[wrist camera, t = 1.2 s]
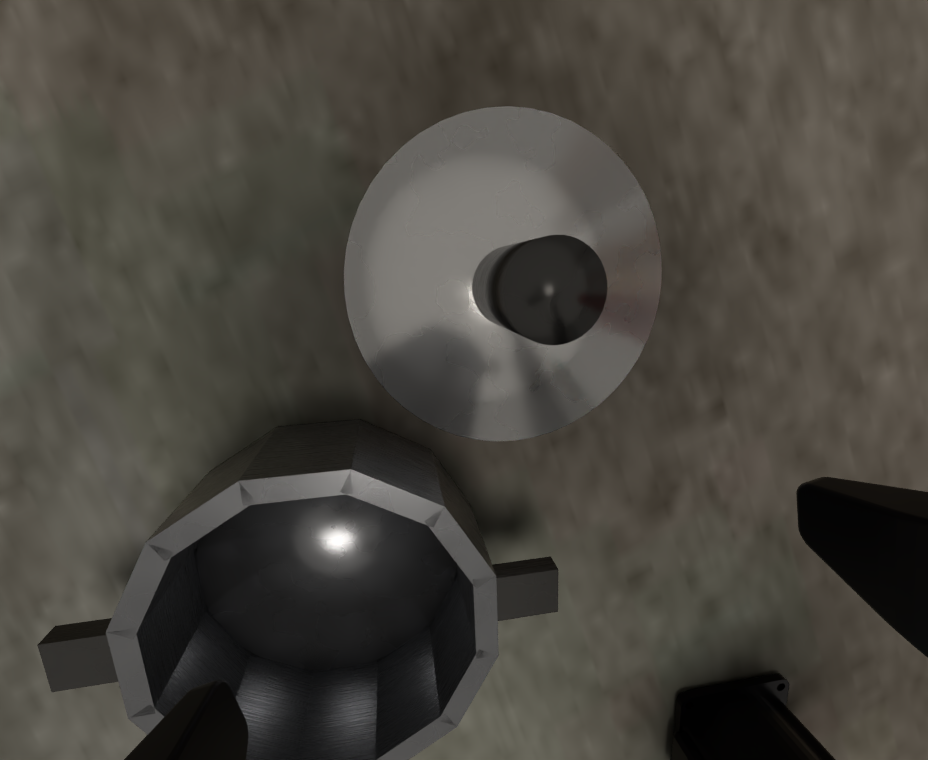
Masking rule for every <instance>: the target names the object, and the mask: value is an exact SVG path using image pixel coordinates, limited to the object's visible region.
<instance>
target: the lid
mask: <svg viewBox="0 0 928 760" xmlns="http://www.w3.org/2000/svg"><path fill="white" fill-rule="evenodd" d="M661 281H662V258H661V250H660V242H659V236H658V232H657V228H656V224H655V220H654V216H653V214H652V211H651V209H650V206H649V203H648V201H647V198H646V196H645V194H644V193H643V191H642V189H641V187H640V185H639V183H638V182H637V180H636V178H635V177H634V175H633V174H632V173H631V171H630V170H629V168H628V167H627V166H626V164H625V163H624V162H623V161H622V159H621V158H620V157H619V156H618V155H617V154H616V153H615V152H614V151H613V150H612V149H611V148H610V147H609V146H608V145H607V144H605V143H604V142H603V141H602V140H600V139H599V138H598V137H597V136H595V135H594V134H593V133H592V132H590V131H588V130H586V129H585V128H583V127H581V126H580V125H578V124H576V123H574V122H573V121H570V120H568V119H565V118H563V117H560V116H558V115H555V114H553V113H549V112H545V111H541V110H536V109H532V108H524V107H512V106H503V107H488V108H482V109H477V110H472V111H468V112H463V113H461V114H458V115H455V116H453V117H450V118H447V119H445V120H442V121H440V122H438V123H436V124H435V125H433V126H431V127H429V128H427V129H426V130H424V131H422V132H420V133H419V134H418V135H417V136H415V137H414V138H413V139H411V140H410V141H409V142H407V143H406V144H405V145H403V146H402V147H401V148H400V149H399V150H398V151H397V152H396V153H395V154H394V155H393V156H392V157H391V158H390V159H389V160H388V161H387V162H386V163H385V165H384V166H383V168H382V169H381V170H380V172H379V173H378V174H377V176H376V177H375V178H374V180H373V181H372V182H371V184H370V186H369V188H368V190H367V192H366V193H365V195H364V197H363V199H362V201H361V202H360V205H359V207H358V210H357V213H356V215H355V218H354V220H353V223H352V226H351V230H350V234H349V238H348V243H347V247H346V254H345V265H344V294H345V301H346V307H347V313H348V318H349V322H350V325H351V328H352V331H353V335H354V338H355V341H356V343H357V345H358V347H359V349H360V351H361V354H362V356H363V358H364V360H365V362H366V363H367V365H368V366H369V368H370V369H371V371H372V373H373V374H374V376H375V377H376V379H377V380H378V381H379V382H380V383H381V385H382V386H383V387H384V388H385V389H386V391H387V392H388V393H389V394H390V395H391V396H392V397H393V398H394V399H395V400H396V401H397V402H399V403H400V404H401V405H402V406H403V407H404V408H405V409H407V410H408V411H410V412H411V413H412V414H414V415H415V416H417V417H418V418H420V419H421V420H423V421H425V422H427V423H429V424H431V425H433V426H434V427H436V428H438V429H441V430H444V431H446V432H449V433H452V434H455V435H458V436H462V437H467V438H471V439H476V440H487V441H515V440H521V439H527V438H533V437H536V436H540V435H543V434H547V433H550V432H553V431H555V430H557V429H560V428H562V427H564V426H567V425H569V424H571V423H572V422H574V421H576V420H577V419H579V418H581V417H583V416H584V415H586V414H587V413H589V412H590V411H591V410H593V409H594V408H595V407H597V406H598V405H599V404H600V403H602V402H603V401H604V400H605V399H606V398H607V397H608V396H609V395H610V394H611V393H612V392H613V391H614V390H615V389H616V388H617V387H618V386H619V384H620V383H621V382H622V381H623V380H624V378H625V377H626V376H627V375H628V373H629V372H630V370H631V369H632V367H633V366H634V364H635V362H636V361H637V359H638V358H639V356H640V354H641V352H642V350H643V348H644V346H645V344H646V342H647V340H648V337H649V334H650V332H651V329H652V326H653V323H654V321H655V316H656V312H657V308H658V304H659V299H660V290H661Z"/></svg>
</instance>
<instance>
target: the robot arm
mask: <svg viewBox="0 0 928 760" xmlns="http://www.w3.org/2000/svg"><path fill="white" fill-rule="evenodd" d="M797 512H798V528H799V532H800V535H801V536H802V538H803V540H804V541H805V543H806V544H807V545H808V546H809V547H810V548H811V549H812V550H813V551H814V552H815V553H816V554H817V555H818V556H819V557H820V558H821V559H822V560H823V561H824V562H825V563H826V564H827V565H828V566H829V567H830V568H831V569H832V570H834V571H835V572H836V573H837V574H838V575H839V576H840V577H841V578H842V579H843V580H844V581H845V582H846V583H847V584H848V585H849V586H850V587H851V588H852V589H853V590H854V591H855V592H856V593H857V594H858V595H859V596H860V597H861V598H862V599H863V600H864V601H865V602H866V603H867V604H868V605H870V606H871V607H872V608H873V609H874V610H875V611H876V612H877V613H878V614H879V615H880V616H881V617H882V618H883V619H884V620H885V621H886V622H887V623H888V624H889V625H891V626H892V627H893V628H894V629H895V630H896V631H897V632H898V633H899V634H901V635H902V636H903V637H904V638H905V639H906V640H907V641H909V642H910V643H911V644H912V645H913V646H914V647H916V648H917V649H918V650H919V651H920V652H922V653H923V654H924V655H925V656H926V657H928V492H924V491H917V490H911V489H904V488H897V487H891V486H884V485H878V484H871V483H864V482H858V481H851V480H844V479H838V478H831V477H821V478H817V479H814V480H812V481H809V482H806V483H803V484H801V485H800V486H799V487H798V489H797ZM788 689H789V682H788V681H787V680H786V679H785V678H784V677H783V676H782V675H781V674H772V675H767V676H761V677H756V678H751V679H746V680H741V681H736V682H731V683H725V684H720V685H715V686H710V687H705V688H700V689H695V690H690V691H685V692H682V693H681V694H680V695H679V696H678V697H677V701H676V713H675V726H674V736H673V747H672V759H671V760H835V759H834V757H833V756H832V755H831V754H830V753H829V752H828V751H827V750H826V749H825V748H824V747H823V746H822V745H821V743H820V742H819V741H818V740H817V739H816V738H815V737H814V736H813V735H812V734H811V733H810V732H809V730H808V729H807V728H806V727H805V726H804V725H803V724H802V723H801V722H800V721H799V720H798V719H797V718H796V716H795V715H794V714H793V713H792V712H791V711H790V710H789V709H788V708H787V707H786V703H787V696H788ZM248 739H249V733H248V726H247V722H246V719H245V717H244V715H243V713H242V711H241V709H240V706H239V704H238V702H237V700H236V698H235V696H234V694H233V692H232V690H231V688H230V686H229V685H228V683H227V682H226V681H225V680H222V679H218V680H214V681H211V682H208V683H205V684H202V685H199V686H196V687H194V688H192V689H191V690H189V691H188V692H187V693H186V694H185V695H184V696H183V697H182V699H181V700H180V701H179V702H178V703H177V704H176V705H175V706H174V707H173V708H172V709H171V710H170V711H169V712H168V714H167V715H166V716H165V717H164V718H163V719H162V720H161V721H160V722H159V723H158V724H157V725H156V726H155V727H154V728H153V730H152V731H151V732H150V733H149V734H148V735H147V736H146V737H145V738H144V739H143V740H142V741H141V742H140V743H139V744H138V746H137V747H136V748H135V749H134V750H133V751H132V752H131V753H130V754H129V755H128V756H127V757H126V758H125V759H124V760H246V757H247V749H248Z"/></svg>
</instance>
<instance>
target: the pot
mask: <svg viewBox="0 0 928 760" xmlns="http://www.w3.org/2000/svg"><path fill="white" fill-rule="evenodd" d="M551 612H558V568H557V567H556V565H555V563H554V561H553V560H552V558H551V557H544V558H537V559H530V560H523V561H516V562H509V563H502V564H494V565H492V563H491V560H490V558H489V555H488V552H487V549H486V547H485V544H484V541H483V538H482V536H481V533H480V530H479V527H478V525H477V522H476V519H475V516H474V514H473V511H472V508H471V505H470V504H469V502H468V501H467V500H466V498H465V497H464V495H463V494H462V493H461V491H460V490H459V488H458V487H457V486H456V484H455V483H454V481H453V480H452V479H451V477H450V476H449V475H448V473H447V472H446V470H445V469H444V468H443V466H442V465H441V463H440V462H439V461H438V459H437V458H436V456H435V455H434V454H433V452H432V451H431V450H430V449H428V448H426V447H423V446H421V445H419V444H416V443H414V442H412V441H409V440H407V439H405V438H402V437H400V436H398V435H395V434H393V433H391V432H388V431H386V430H384V429H381V428H379V427H377V426H374V425H372V424H370V423H367V422H365V421H363V420H360V419H358V420H347V421H336V422H324V423H313V424H302V425H290V426H279V427H276V428H275V429H273V430H272V431H270V432H269V433H267V434H266V435H264V436H263V437H261V438H259V439H258V440H256V441H255V442H253V443H252V444H250V445H249V446H247V447H246V448H244V449H243V450H241V451H240V452H238V453H237V454H235V455H234V456H232V457H231V458H229V459H228V460H226V461H225V462H223V463H222V464H220V465H219V466H217V467H216V468H214V469H213V470H211V471H210V472H209V473H208V474H207V475H206V476H205V477H204V478H203V479H202V480H201V482H200V483H199V484H198V485H197V486H196V487H195V488H194V489H193V490H192V492H191V493H190V494H189V495H188V496H187V497H186V498H185V499H184V500H183V502H182V503H181V504H180V505H179V506H178V507H177V508H176V509H175V510H174V512H173V513H172V514H171V515H170V516H169V517H168V518H167V519H166V520H165V521H164V523H163V524H162V525H161V526H160V527H159V528H158V529H157V530H156V531H155V533H154V534H153V535H152V536H151V537H150V538H149V539H148V540H147V541H146V543H145V545H144V547H143V549H142V552H141V554H140V556H139V558H138V561H137V563H136V565H135V567H134V570H133V572H132V574H131V576H130V579H129V581H128V583H127V585H126V588H125V590H124V592H123V594H122V597H121V599H120V601H119V603H118V606H117V608H116V610H115V612H114V615H113V617H112V618H110V619H103V620H95V621H88V622H81V623H74V624H67V625H60V626H55V627H54V628H53V629H52V630H51V631H50V632H49V633H48V634H47V635H46V636H45V638H44V639H43V640H42V641H41V642H40V643H39V644H38V648H39V652H40V655H41V658H42V662H43V665H44V668H45V672H46V675H47V678H48V682H49V685H50V688H51V691H52V692H56V691H62V690H68V689H75V688H81V687H87V686H93V685H100V684H106V683H112V682H119V685H120V689H121V693H122V697H123V701H124V704H125V708H126V712H127V716H128V719H129V720H131V721H132V722H133V723H134V724H135V725H137V726H138V727H139V728H140V729H141V730H143V731H144V732H145V733H146V734H149V733H150V732H151V731H152V730H153V728H154V727H155V726H156V725H157V724H158V723H159V722H160V721H161V720H162V719H163V718H164V717H165V716H166V715H167V714H168V712H169V711H170V710H171V709H172V708H173V707H174V706H175V705H176V704H177V703H178V702H179V701H180V700H181V699H182V697H183V696H184V695H185V694H186V693H187V692H188V691H189V690H191V689H192V688H194V687H196V686H199V685H202V684H205V683H208V682H211V681H214V680H218V679H222V680H225V681H226V682H227V683H228V685H229V686H230V688H231V690H232V692H233V694H234V696H235V698H236V700H237V702H238V704H239V706H240V709H241V711H242V713H243V715H244V717H245V719H246V722H247V726H248V733H249V739H248V749H247V757H246V760H409V759H410V758H412V757H413V756H415V755H416V754H417V753H419V752H420V751H422V750H423V749H425V748H426V747H428V746H429V745H431V744H432V743H434V742H435V741H437V740H438V739H440V738H441V737H443V736H444V735H446V734H447V733H449V732H450V731H451V730H453V729H454V728H456V727H457V726H458V724H459V723H460V721H461V719H462V718H463V716H464V714H465V712H466V711H467V709H468V707H469V705H470V704H471V702H472V700H473V699H474V697H475V695H476V693H477V692H478V690H479V688H480V686H481V685H482V683H483V681H484V680H485V678H486V676H487V674H488V673H489V671H490V669H491V667H492V666H493V664H494V662H495V661H496V659H497V657H498V655H499V653H498V621H501V620H508V619H514V618H520V617H526V616H533V615H539V614H545V613H551Z"/></svg>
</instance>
